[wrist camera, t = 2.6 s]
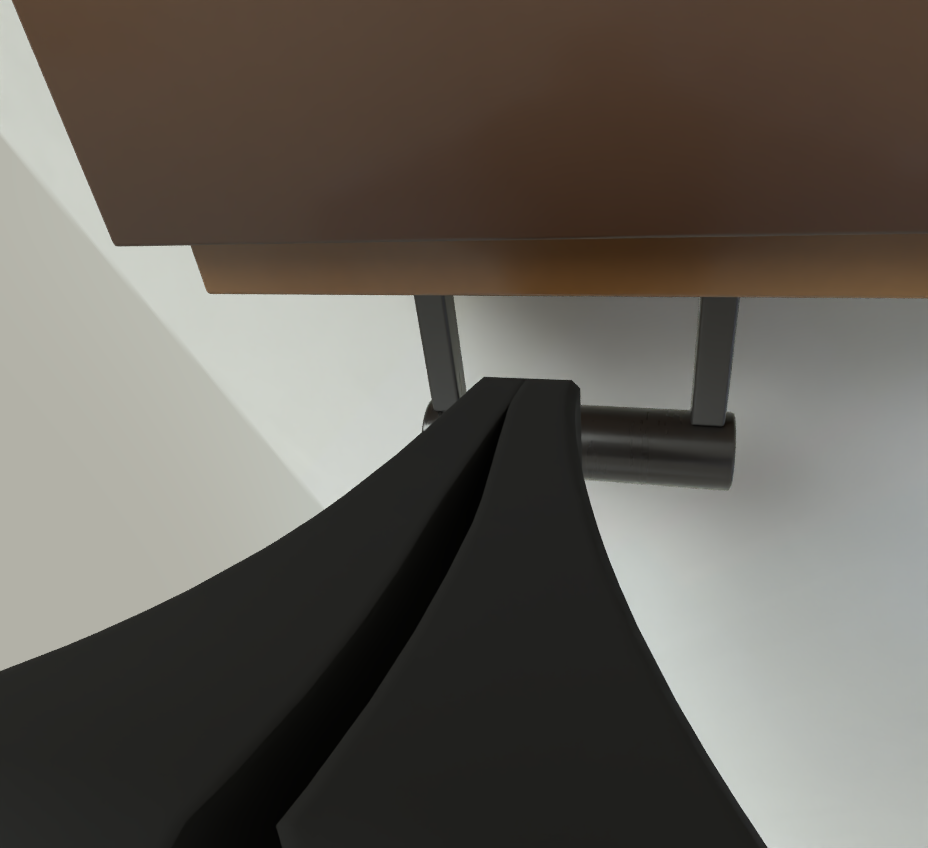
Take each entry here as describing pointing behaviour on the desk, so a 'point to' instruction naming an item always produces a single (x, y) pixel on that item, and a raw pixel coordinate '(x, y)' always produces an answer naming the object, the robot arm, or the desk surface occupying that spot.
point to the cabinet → (490, 117)
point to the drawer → (595, 274)
